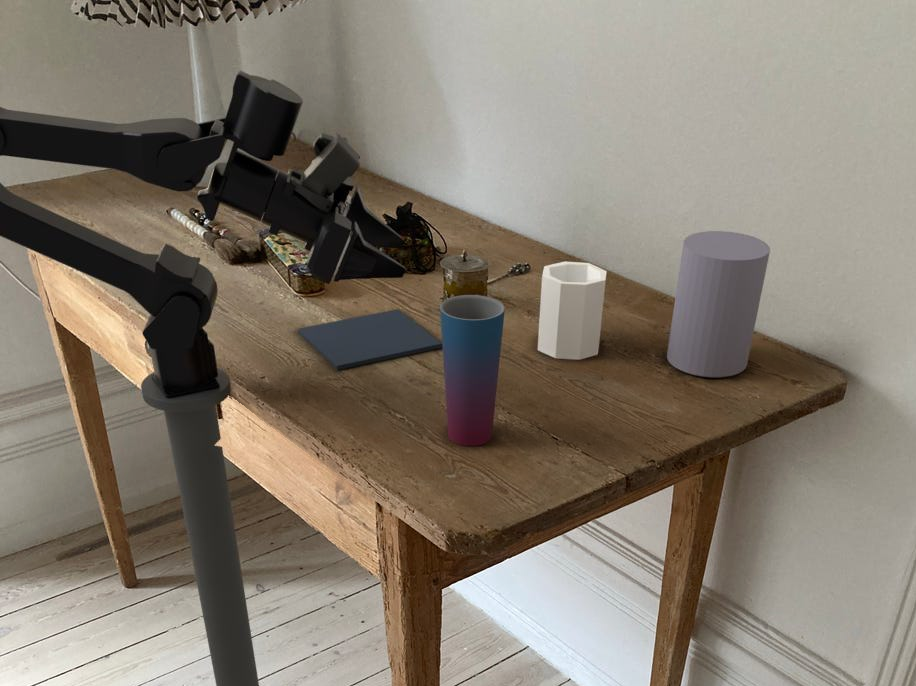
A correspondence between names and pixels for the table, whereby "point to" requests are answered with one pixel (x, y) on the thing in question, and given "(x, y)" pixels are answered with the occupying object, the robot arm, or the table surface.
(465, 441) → the cup
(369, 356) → the placemat
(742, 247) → the container
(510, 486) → the table surface
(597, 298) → the white octagonal pot
